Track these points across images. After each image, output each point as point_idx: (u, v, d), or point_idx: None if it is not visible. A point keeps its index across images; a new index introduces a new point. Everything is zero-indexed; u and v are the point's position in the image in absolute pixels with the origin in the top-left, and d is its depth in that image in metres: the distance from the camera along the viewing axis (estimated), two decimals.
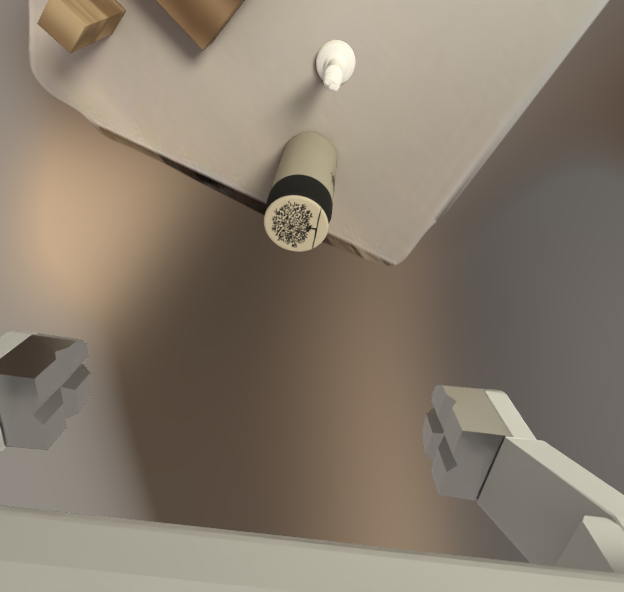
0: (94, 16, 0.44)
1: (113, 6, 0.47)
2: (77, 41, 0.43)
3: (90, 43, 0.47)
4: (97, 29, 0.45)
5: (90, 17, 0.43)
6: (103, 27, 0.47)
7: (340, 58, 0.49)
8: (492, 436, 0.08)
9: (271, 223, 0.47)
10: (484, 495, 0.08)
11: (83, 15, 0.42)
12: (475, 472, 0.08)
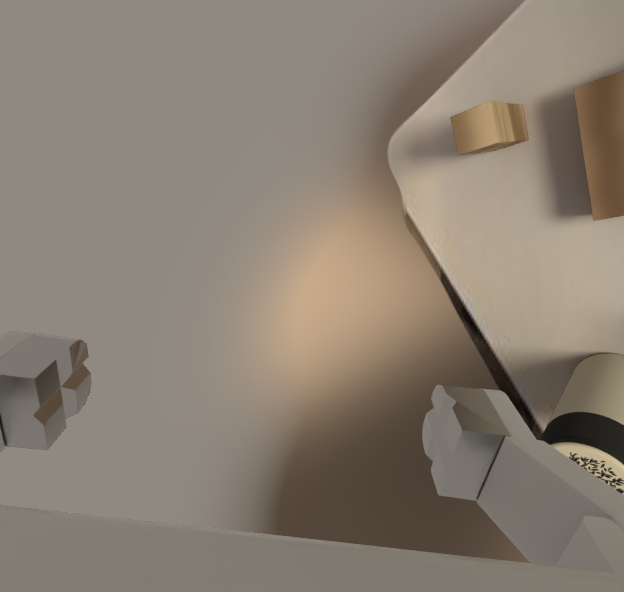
0: (506, 135, 0.38)
1: (522, 131, 0.42)
2: (474, 150, 0.38)
3: None
4: (496, 146, 0.40)
5: (504, 135, 0.38)
6: (500, 146, 0.41)
7: None
8: (492, 436, 0.08)
9: None
10: (484, 495, 0.08)
11: (500, 131, 0.37)
12: (474, 472, 0.08)
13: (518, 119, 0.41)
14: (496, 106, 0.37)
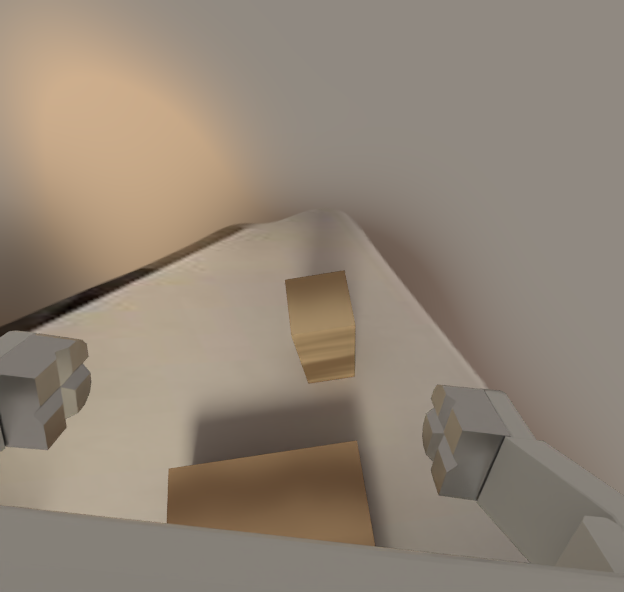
0: (306, 352, 0.25)
1: (317, 375, 0.30)
2: (288, 304, 0.24)
3: None
4: None
5: (305, 347, 0.24)
6: None
7: None
8: (492, 436, 0.08)
9: None
10: (484, 495, 0.08)
11: (311, 342, 0.24)
12: (475, 472, 0.08)
13: (333, 370, 0.29)
14: (348, 337, 0.24)
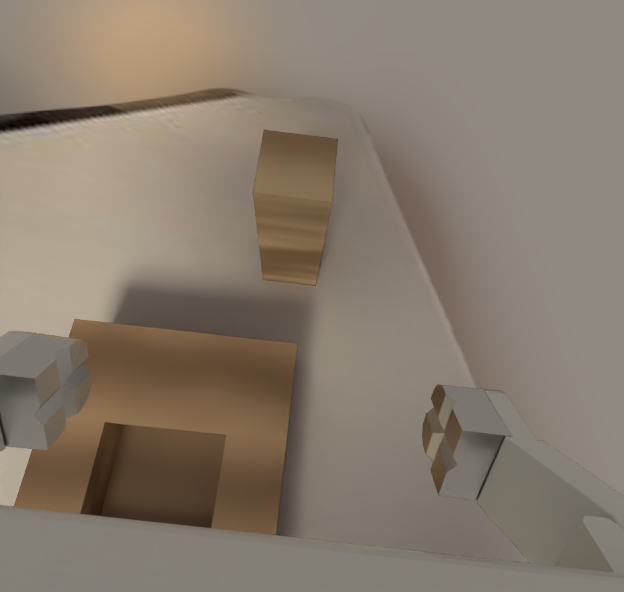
0: (267, 228, 0.21)
1: (274, 270, 0.26)
2: None
3: None
4: None
5: (267, 220, 0.20)
6: None
7: None
8: (492, 436, 0.08)
9: None
10: (484, 495, 0.08)
11: (274, 213, 0.20)
12: (475, 472, 0.08)
13: (294, 268, 0.25)
14: (320, 220, 0.20)
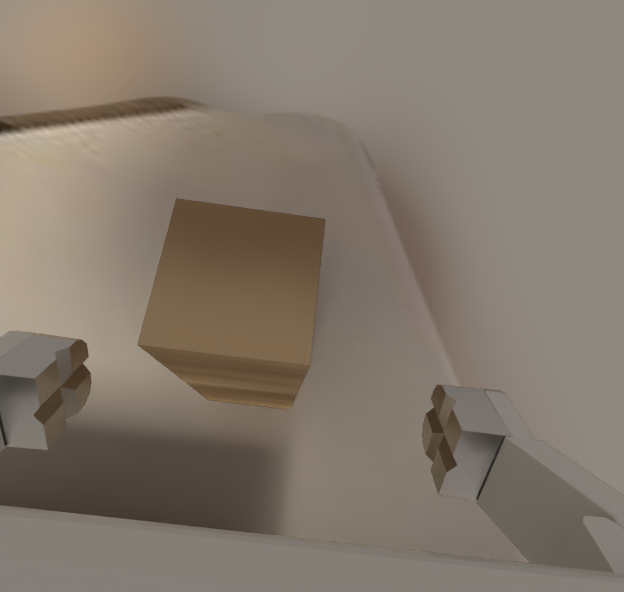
0: (191, 373, 0.11)
1: (223, 397, 0.16)
2: None
3: None
4: None
5: (187, 368, 0.10)
6: None
7: None
8: (492, 436, 0.08)
9: None
10: (484, 495, 0.08)
11: (197, 364, 0.10)
12: (475, 472, 0.08)
13: (253, 399, 0.16)
14: (288, 376, 0.10)
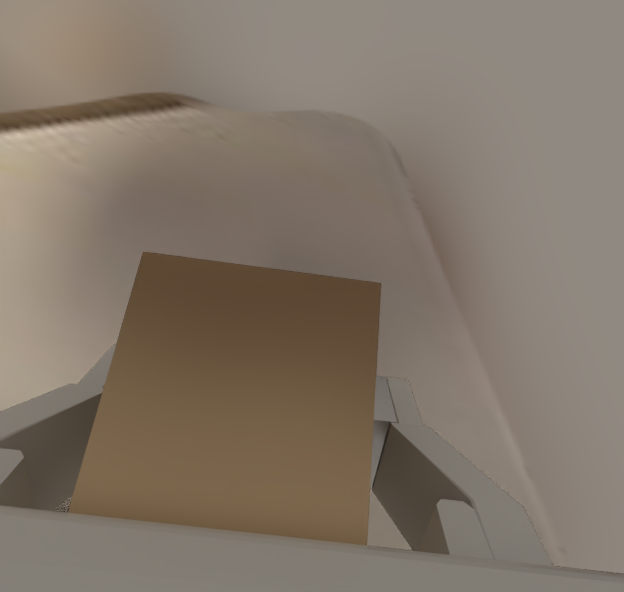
0: None
1: None
2: None
3: None
4: None
5: None
6: None
7: None
8: (380, 422, 0.08)
9: None
10: (379, 482, 0.08)
11: None
12: None
13: None
14: None
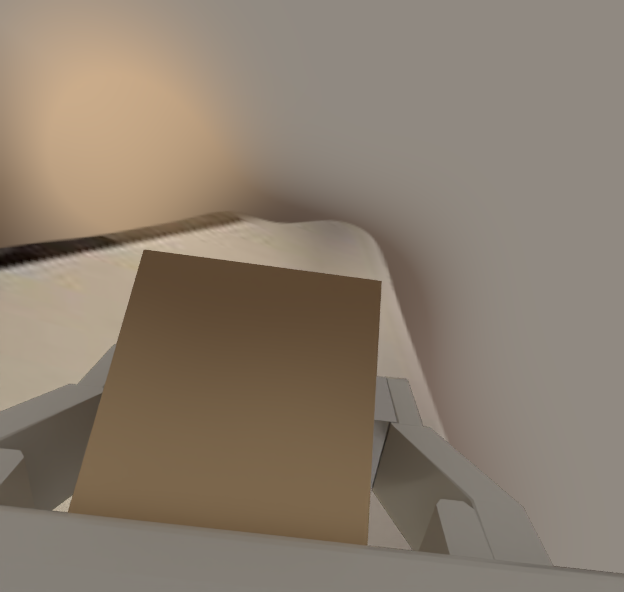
0: None
1: None
2: None
3: None
4: None
5: None
6: None
7: None
8: (379, 422, 0.08)
9: None
10: (379, 482, 0.08)
11: None
12: None
13: None
14: None
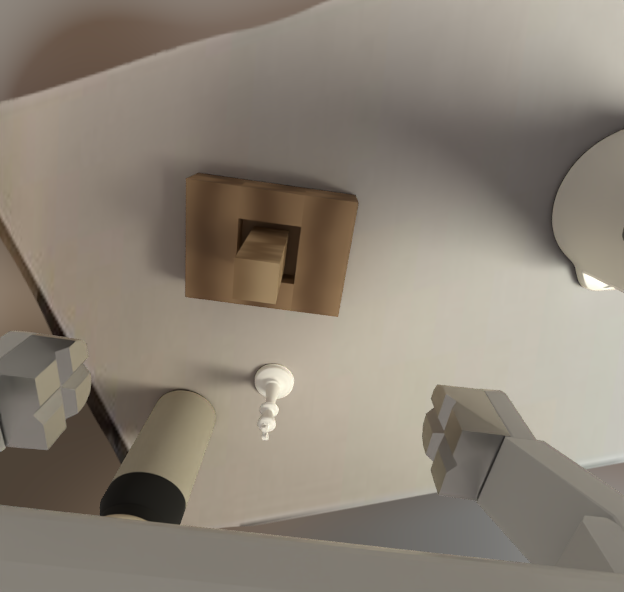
0: (279, 283, 0.36)
1: None
2: None
3: None
4: None
5: (278, 287, 0.36)
6: None
7: (281, 387, 0.49)
8: (492, 436, 0.08)
9: None
10: (484, 495, 0.08)
11: (278, 286, 0.35)
12: (475, 472, 0.08)
13: (285, 252, 0.40)
14: (281, 261, 0.34)
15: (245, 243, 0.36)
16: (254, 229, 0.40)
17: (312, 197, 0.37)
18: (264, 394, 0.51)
